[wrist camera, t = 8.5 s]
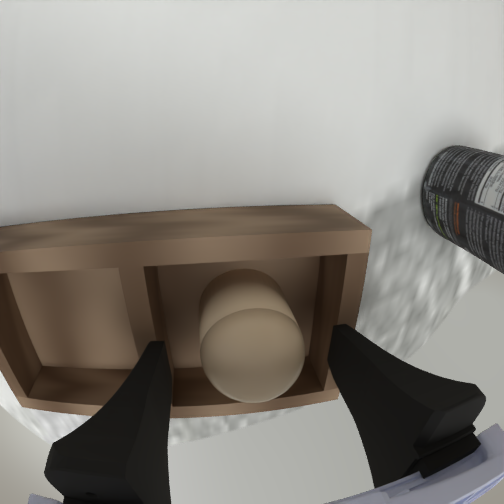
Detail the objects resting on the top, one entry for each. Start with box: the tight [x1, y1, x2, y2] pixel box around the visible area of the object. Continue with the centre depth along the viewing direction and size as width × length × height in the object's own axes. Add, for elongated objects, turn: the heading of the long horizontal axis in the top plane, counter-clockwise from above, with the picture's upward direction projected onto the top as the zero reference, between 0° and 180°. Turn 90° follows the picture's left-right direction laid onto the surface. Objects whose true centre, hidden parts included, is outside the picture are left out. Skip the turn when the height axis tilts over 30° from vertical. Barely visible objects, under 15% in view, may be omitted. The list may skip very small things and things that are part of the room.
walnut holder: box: [0, 205, 372, 418], centre depth 15 cm, size 19×10×4 cm, turn 90°
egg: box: [199, 269, 305, 403], centre depth 14 cm, size 4×4×6 cm
